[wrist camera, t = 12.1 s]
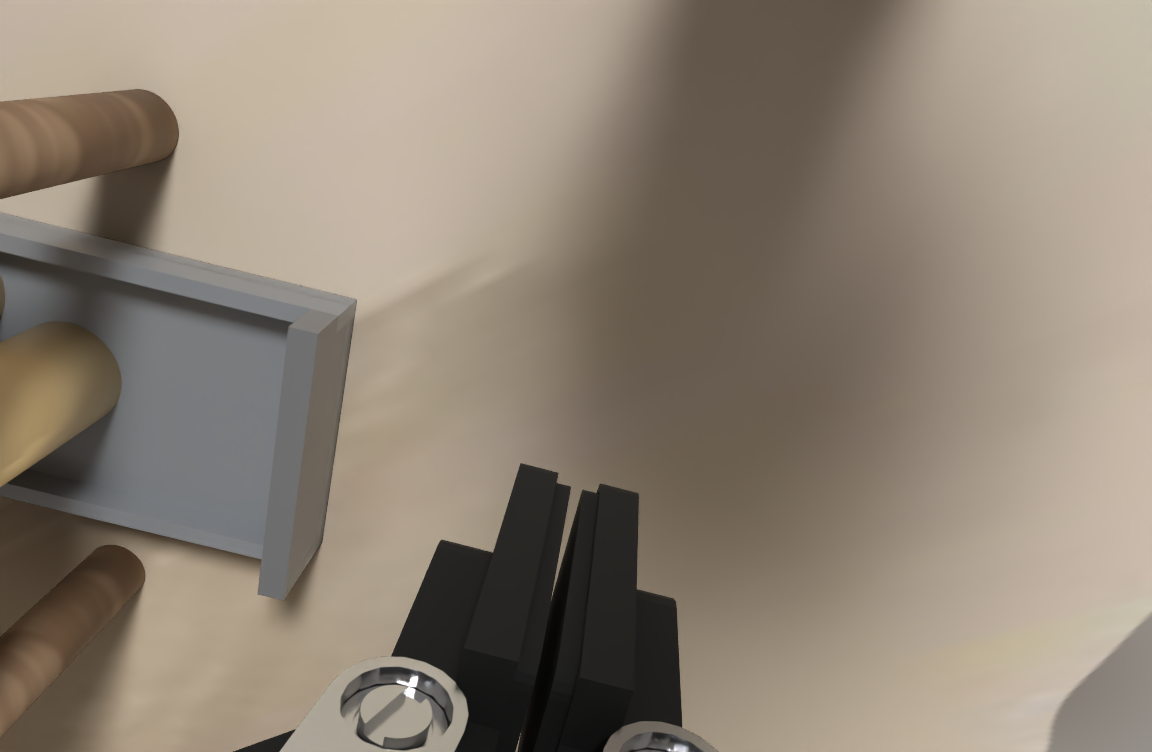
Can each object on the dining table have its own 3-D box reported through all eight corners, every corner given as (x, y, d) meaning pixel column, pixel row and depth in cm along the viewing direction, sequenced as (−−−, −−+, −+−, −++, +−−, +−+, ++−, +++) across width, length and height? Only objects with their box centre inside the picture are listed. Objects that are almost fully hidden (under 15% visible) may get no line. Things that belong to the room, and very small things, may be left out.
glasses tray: (356, 299, 40) (266, 378, 30) (322, 541, 44) (234, 674, 35) (-123, 182, 39) (-362, 225, 30) (-107, 438, 44) (-309, 544, 35)
